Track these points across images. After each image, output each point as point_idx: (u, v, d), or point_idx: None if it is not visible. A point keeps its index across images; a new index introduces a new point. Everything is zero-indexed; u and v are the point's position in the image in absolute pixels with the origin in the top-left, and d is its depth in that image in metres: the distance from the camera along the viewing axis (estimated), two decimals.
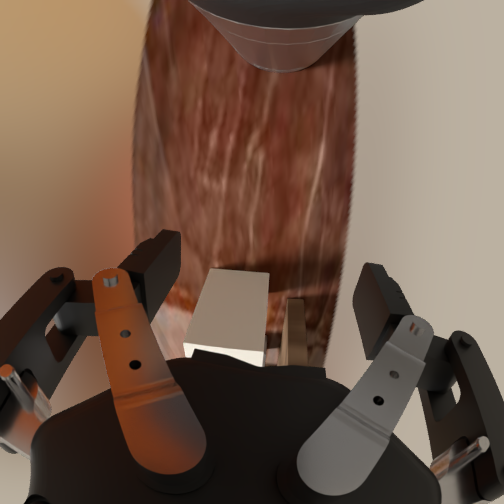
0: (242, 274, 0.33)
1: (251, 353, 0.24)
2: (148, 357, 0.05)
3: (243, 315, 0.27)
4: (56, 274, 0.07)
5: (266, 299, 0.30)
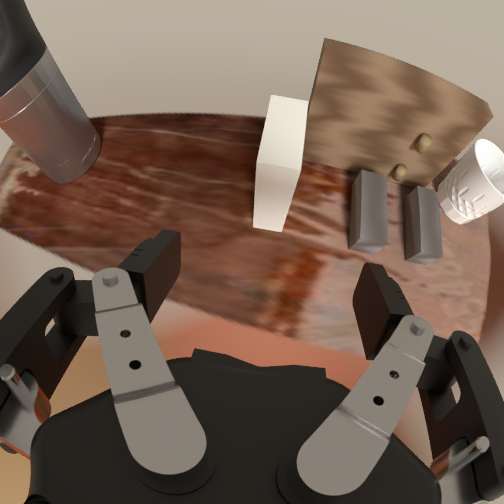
0: None
1: (275, 103, 0.20)
2: (148, 357, 0.05)
3: None
4: (56, 274, 0.07)
5: None
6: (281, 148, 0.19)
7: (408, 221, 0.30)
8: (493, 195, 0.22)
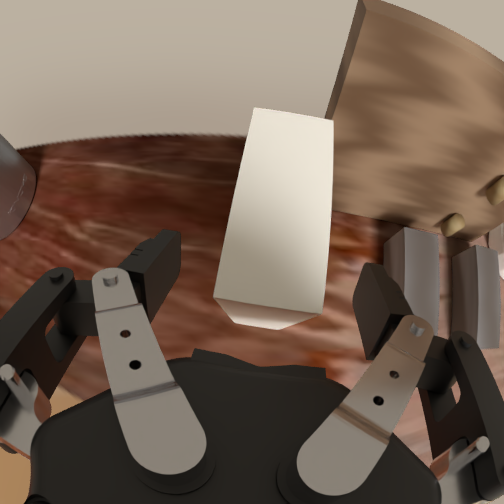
0: None
1: (261, 127, 0.10)
2: (148, 357, 0.05)
3: None
4: (56, 274, 0.07)
5: None
6: (275, 254, 0.08)
7: (458, 294, 0.19)
8: None
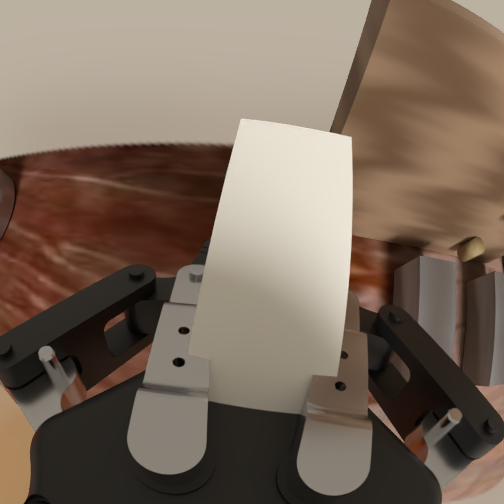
0: None
1: (250, 147, 0.07)
2: (195, 359, 0.05)
3: None
4: (136, 271, 0.08)
5: None
6: (266, 349, 0.05)
7: (472, 324, 0.16)
8: None
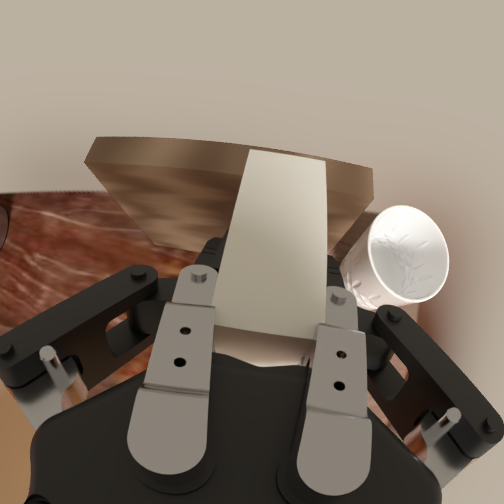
0: None
1: (257, 166, 0.10)
2: (196, 360, 0.05)
3: None
4: (138, 272, 0.08)
5: None
6: (273, 281, 0.08)
7: None
8: (392, 299, 0.20)
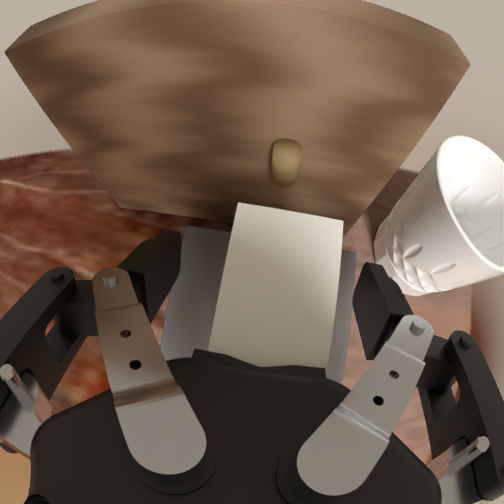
0: None
1: (247, 237, 0.08)
2: (148, 357, 0.05)
3: None
4: (56, 273, 0.07)
5: None
6: None
7: None
8: (475, 268, 0.11)
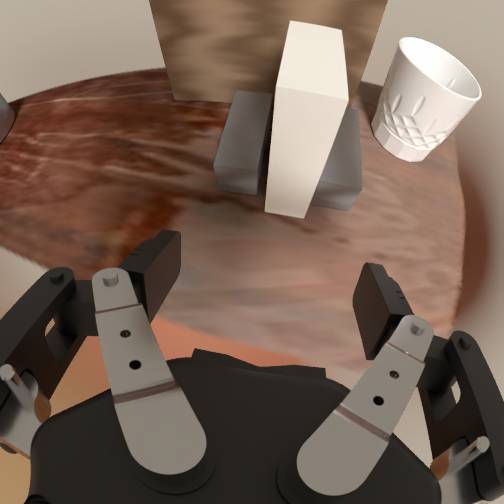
0: None
1: (296, 28, 0.12)
2: (148, 357, 0.05)
3: None
4: (56, 273, 0.07)
5: None
6: (314, 73, 0.11)
7: None
8: (438, 95, 0.15)
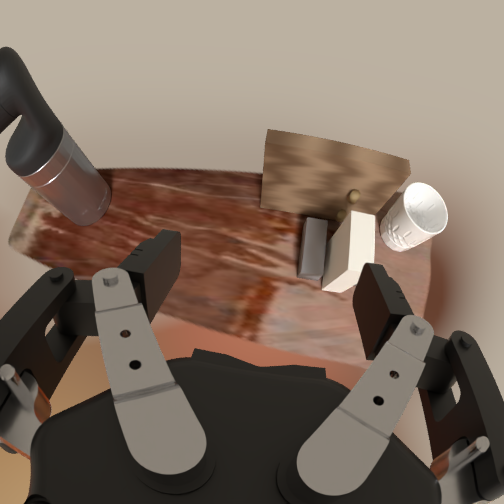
0: (325, 262, 0.41)
1: (354, 218, 0.31)
2: (148, 357, 0.05)
3: (339, 240, 0.35)
4: (56, 274, 0.07)
5: (335, 233, 0.38)
6: (361, 258, 0.30)
7: None
8: (418, 232, 0.34)
